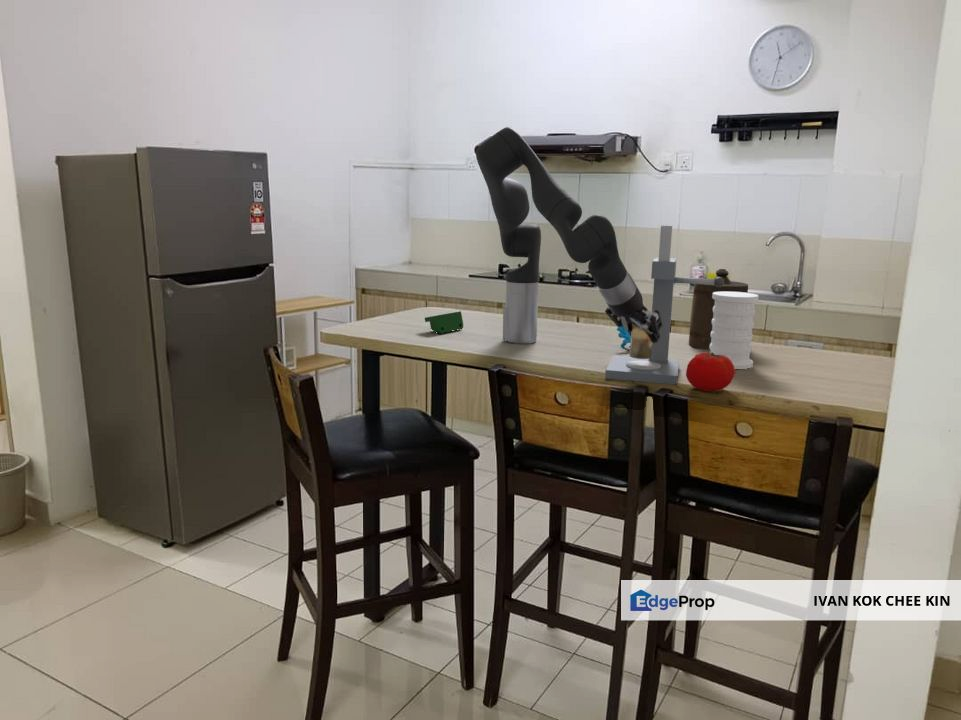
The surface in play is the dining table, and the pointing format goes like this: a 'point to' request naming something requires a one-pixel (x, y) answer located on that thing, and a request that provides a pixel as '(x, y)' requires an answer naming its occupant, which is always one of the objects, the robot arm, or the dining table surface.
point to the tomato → (710, 372)
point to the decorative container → (733, 326)
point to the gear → (624, 336)
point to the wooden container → (708, 308)
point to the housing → (640, 343)
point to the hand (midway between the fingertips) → (646, 338)
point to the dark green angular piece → (445, 322)
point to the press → (659, 364)
